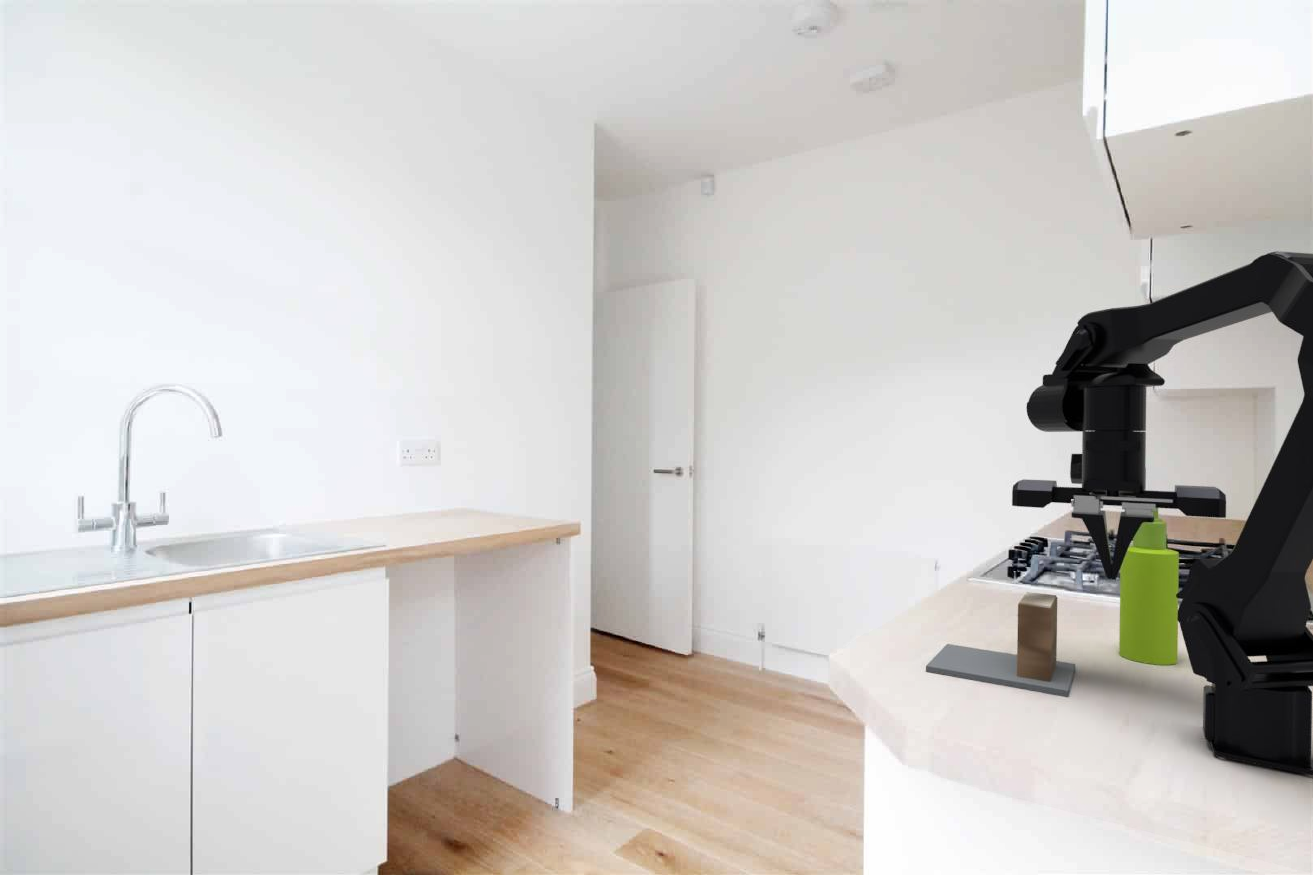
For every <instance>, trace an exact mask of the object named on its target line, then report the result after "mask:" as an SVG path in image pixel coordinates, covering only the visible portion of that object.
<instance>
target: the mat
mask: <svg viewBox="0 0 1313 875" xmlns="http://www.w3.org/2000/svg"><path fill="white" fill-rule="evenodd" d="M925 672H929V673H933V674H934V673H935V674H941V675H943V676H944V675H945V676H951V677H957V678H963V679H967V680H973V681H979V682H983V683H984V682H985V683H990V684H994V685H1000V686H1006V687H1012V688H1017V689H1023V690H1028V691H1033V692H1034V691H1035V692H1039V693H1040V692H1041V693H1046V694H1051V695H1057V696H1062V697H1068V698H1069V694H1070V690H1071V687H1072V683H1073V679H1074V676H1075V672H1076V663H1074V662H1073V663H1071V662H1065V661H1059V660H1056V668H1055V671H1054V673H1053V676H1052V679H1051V682H1047V681H1041V680H1035V679H1029V678H1023V677H1018V676H1017V654H1014V653H1008V652H1002V651H997V650H996V651H995V650H988V649H982V648H976V647H971V646H970V647H969V646H963V645H958V644H957V645H956V644H950V643H946V645H944V646H943V647H942V648H941V650H940V651H939V652H938V653H937V654H936V655H935V656H934V657H933V658H932V659H931V660H930V661H929V662H928V664H927V665H926V666H925Z"/></svg>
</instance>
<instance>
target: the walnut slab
mask: <svg viewBox="0 0 1313 875" xmlns="http://www.w3.org/2000/svg"><path fill="white" fill-rule="evenodd" d="M1057 637H1058V597H1057V594H1047V593H1039V592H1032V591H1031V592H1030V591H1026V592H1025V594H1024V595H1023V597H1022V598H1021V599H1020V601H1019V602H1018V604H1017V643H1016V644H1017V645H1016V646H1017V649H1016V650H1017V653H1016V655H1017V676H1018V677H1023V678H1029V679H1035V680H1041V681H1047V682H1051V679H1052V676H1053V673H1054V671H1055V668H1056V661H1057V656H1058V655H1057V647H1058V646H1057V643H1058V640H1057V639H1058V638H1057Z"/></svg>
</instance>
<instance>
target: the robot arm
mask: <svg viewBox="0 0 1313 875" xmlns="http://www.w3.org/2000/svg"><path fill="white" fill-rule="evenodd" d="M1269 313H1272V314H1273V315H1274V317H1276V320H1277V321H1278V322H1279V323H1281V324H1282V325H1283V326H1285V327H1287V328H1288V329H1291V330H1292V331H1294V332H1295V333H1297V334H1299V335H1301V336H1302V339H1301V344H1300V347H1299V351H1298V354H1297V366H1298V370H1299V375H1300V379H1301V385H1302V388H1303V389H1302V390H1303V397H1302V402H1301V404H1300V405H1299V408H1298V409H1297V413H1296V414H1295V416H1294V418H1293V421H1292V422H1291V425H1290V427H1289V429H1288V432H1287V433H1286V435H1285V438H1284V440H1283V442H1282V444H1281V447H1280V448H1279V451H1278V453H1277V455H1276V457H1275V459H1274V461H1273V464H1272V466H1271V468H1270V470H1269V473H1268V475H1267V476H1266V479H1265V480H1264V483H1263V485H1262V487H1261V489H1260V491H1259V493H1258V495H1257V498H1256V500H1255V502H1254V503H1253V506H1252V508H1251V510H1250V512H1249V515H1248V517H1247V518H1246V521H1245V523H1244V525H1243V527H1242V530H1241V532H1240V534H1239V536H1238V538H1237V541H1236V542H1235V545H1234V547H1233V549H1231V551H1230V552H1229V554H1228V555H1226V556H1224V557H1223V558H1205V559H1203V558H1202V559H1198V558H1197V559H1195V561H1194V562H1193V563H1192V564H1191V566H1190V567H1189V571H1188V575H1187V579H1186V582H1185V584H1184V586H1183V587H1182V589H1181V590H1180V591H1178V593H1177V594H1176V597H1177V598H1178V600H1179V599H1180V600H1181V601H1180V603H1179V604H1178V624H1179V625H1180V630H1181V635H1182V637H1183V641H1184V644H1185V648H1186V653H1187V654H1188V655H1187V656H1188V659H1189V661H1190V662H1189V663H1190V666H1191V670H1192V673H1193V674H1194V675H1196V676H1199V677H1202V678H1204V679H1206V682H1208V683H1211V685H1208V684H1206V685H1204V686H1203V687H1202V688H1203V689H1202V690H1203V692H1202V694H1203V696H1202V699H1203V700H1202V733H1203V737H1204V740H1206V741H1207V742H1209V743H1210V746H1211V751H1212V753H1213V755H1214V756H1216V757H1219V758H1222V759H1223V758H1224V759H1227V760H1232V761H1237V762H1238V761H1239V762H1242V763H1243V762H1244V763H1248V764H1253V765H1257V766H1259V765H1260V766H1263V767H1269V768H1273V769H1279V770H1283V771H1288V772H1293V773H1297V774H1298V773H1299V774H1304V775H1309V776H1313V760H1312V736H1313V735H1312V731H1313V730H1312V727H1313V726H1312V723H1313V720H1312V719H1313V691H1312V690H1311V688H1310V687H1313V633H1312V632H1311V630H1310V629H1309V628H1308V627H1307V623H1308V620H1309V617H1310V613H1311V609H1312V605H1311V604H1312V603H1311V599H1310V594H1309V591H1308V590H1309V589H1308V587H1307V582H1306V575H1307V572H1308V569H1309V568H1310V566H1311V564H1312V562H1313V253H1310V252H1309V253H1308V252H1295V251H1294V252H1293V251H1278V250H1277V251H1272V252H1269V253H1268V252H1267V253H1266V254H1263V255H1260V256H1259V257H1257V258H1255V259H1253V261H1252V262H1251V263H1248V264H1246V265H1243V266H1240V267H1238V268H1236V269H1233V270H1231V271H1228V272H1226V273H1222V274H1219V275H1218V276H1215V277H1212V278H1209V279H1208V280H1205V281H1203V282H1201V283H1198V284H1195V285H1192V286H1190V287H1188V288H1184V289H1182V290H1180V291H1177V292H1175V293H1172V294H1170V295H1168V296H1165V297H1162V298H1160V299H1157V300H1155V301H1153V302H1149V303H1145V304H1140V305H1134V306H1133V305H1131V306H1123V307H1121V306H1119V307H1111V308H1106V309H1101V310H1096V311H1090V312H1087V313H1085V315H1083V316H1081V318H1080V319H1078V320H1077V326H1075V328H1074V330H1073V331H1072V332H1071V335H1070V337H1069V339H1068V341H1067V343H1066V345H1065V348H1063V351H1062V353H1061V355H1060V356H1059V357H1058V358H1057V360H1056V361H1055V367H1054V369H1053V371H1052V373H1050V374H1044V375H1043V376H1042V385H1040V386H1038V387H1037V388H1035V389H1034V390H1033V391H1032V393H1031V394H1030V396H1029V399H1028V401H1027V402H1026V414H1027V418H1028V420H1029V422H1030V423H1031V425H1033V426H1034V427H1035V428H1036V429H1038V430H1039V431H1041V432H1045V433H1048V432H1049V433H1057V432H1059V433H1061V432H1065V433H1067V432H1069V433H1070V432H1071V433H1073V432H1074V433H1076V432H1078V433H1079V432H1082V440H1081V441H1082V443H1081V448H1082V450H1081V453H1071V454H1070V455H1071V457H1070V469H1069V475H1070V476H1069V477H1070V482H1071V484H1073V485H1075V484H1077V485H1081V487H1079V486H1078V487H1077V486H1075V487H1073V486H1072V487H1071V486H1058V484H1057V480H1047V479H1025V478H1024V479H1021V480H1018V481H1016V483H1015V484H1013V486H1012V492H1011V493H1012V494H1011V505H1012V506H1013V507H1021V508H1041V509H1044V508H1045V507H1046V506H1048V505H1050V504H1051V503H1055V504H1056V503H1057V504H1059V503H1060V504H1071V507H1072V508H1073V509H1072V511H1071V514H1070V516H1071V518H1072V519H1080V520H1082V522H1083V524H1084V525H1085V528H1086V530H1087V532H1088V534H1089V535H1090V536H1091V539H1092V541H1093V543H1094V546H1095V548H1096V552H1097V554H1098V557H1099V559H1100V563H1101V565H1102V568H1103V571H1104V574H1105V577H1106V579H1107V580H1114V581H1116V580H1117V577H1118V575H1119V574H1120V573H1119V572H1120V569H1121V565H1122V563H1123V560H1124V557H1125V555H1126V552H1127V550H1128V547H1129V546H1131V543H1132V542H1133V538H1134V536H1135V535H1136V533H1137V531H1138V529H1139V528H1140V526H1141V524H1142V523H1144V522H1148V523H1153V522H1154V514H1153V511H1155V508H1158V509H1171V510H1173V509H1174V510H1180V512H1182V513H1183V514H1184V516H1186V517H1196V518H1197V517H1198V518H1199V517H1200V518H1201V517H1202V518H1217V519H1219V518H1220V519H1221V518H1222V519H1225V518H1226V517H1227V497H1226V493H1225V492H1224V491H1222V490H1221V489H1219V488H1218V487H1216V486H1204V485H1203V486H1202V485H1179V484H1175V485H1174V491H1173V490H1171V491H1169V490H1168V491H1167V490H1148V489H1147V490H1146V483H1147V480H1146V479H1147V478H1146V477H1147V472H1146V471H1147V469H1146V468H1147V467H1146V454H1147V453H1146V450H1147V448H1146V447H1147V446H1146V442H1147V441H1146V440H1147V433H1146V431H1147V388H1148V387H1149V388H1150V387H1162V386H1164V385H1165V383H1166V380H1165V379H1164V378H1163V377H1162V376H1161V375H1159V373H1157V372H1155V371H1154V370H1152V368H1150V366H1149V364H1152V363H1153V362H1155V361H1157V360H1159V359H1161V358H1163V357H1165V356H1166V355H1168V354H1169V353H1170V351H1171V350H1172V349H1173V347H1174V346H1175V345H1177V344H1179V343H1181V342H1183V341H1185V340H1188V339H1190V338H1191V339H1192V338H1194V337H1197V336H1200V335H1204V334H1207V333H1210V332H1214V331H1215V330H1219V329H1223V328H1226V327H1229V326H1232V325H1234V324H1239V323H1241V322H1244V321H1248V320H1250V319H1254V318H1256V317H1260V316H1263V315H1266V314H1269ZM1104 506H1113V507H1114V506H1115V507H1121V509H1122V510H1124V511H1121V512H1120V516H1119V523H1118V527H1117V533H1116V539H1115V544H1114V551H1113V556H1112V554H1111V545H1110V540H1109V533H1108V526H1107V524H1108V523H1107V516H1106V510H1102V509H1103V508H1104ZM1250 657H1252V658H1253V657H1265V658H1266V661H1265V660H1263V661H1261V660H1259V661H1251V659H1250Z"/></svg>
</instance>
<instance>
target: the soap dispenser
mask: <svg viewBox="0 0 1313 875" xmlns="http://www.w3.org/2000/svg"><path fill="white" fill-rule="evenodd" d="M1153 514H1154V522H1153V523H1148V522H1144V523H1142V524H1141V526H1140V528H1139V529H1138V531H1137V533H1136V535H1135V536H1134V538H1133V540H1132V545H1129V547H1128V550H1127V552H1126V555H1125V557H1124V560H1123V563H1122V565H1121V568H1120V570H1119V572H1120V573H1119V574H1120V581H1119V583H1120V584H1119V639H1118V640H1119V642H1118V643H1119V644H1118V646H1119V647H1118V650H1119V651H1118V653H1119V654H1118V655H1120V656H1121V657H1122V658H1124V659H1127V660H1131V661H1134V662H1139V663H1142V664H1150V665H1158V666H1172V665H1176V664H1177V663H1178V651H1179V650H1178V645H1179V644H1178V642H1179V640H1178V638H1179V636H1178V635H1179V632H1178V629H1179V622H1178V609H1179V598H1177V597H1176V594H1177V593H1179V584H1180V583H1179V582H1180V581H1179V576H1180V574H1179V572H1180V571H1179V570H1180V568H1179V566H1180V564H1179V562H1180V553H1179V551H1176V550H1173V549H1170V548H1167V526H1168V524H1167V521H1163V520H1162V518H1159V508H1155V511H1153Z"/></svg>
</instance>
